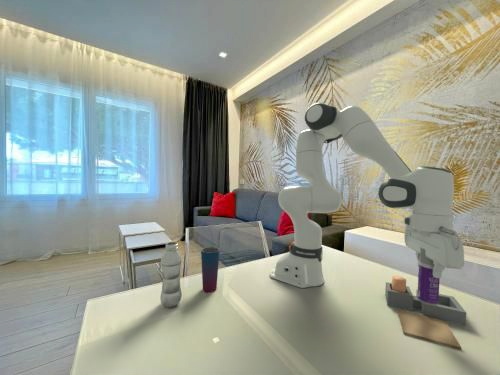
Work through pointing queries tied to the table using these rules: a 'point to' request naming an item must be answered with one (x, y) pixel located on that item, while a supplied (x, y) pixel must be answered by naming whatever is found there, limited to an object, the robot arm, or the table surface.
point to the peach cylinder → (399, 284)
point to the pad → (427, 328)
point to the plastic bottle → (171, 275)
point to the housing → (444, 310)
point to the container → (427, 281)
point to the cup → (210, 268)
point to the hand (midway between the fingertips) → (428, 272)
